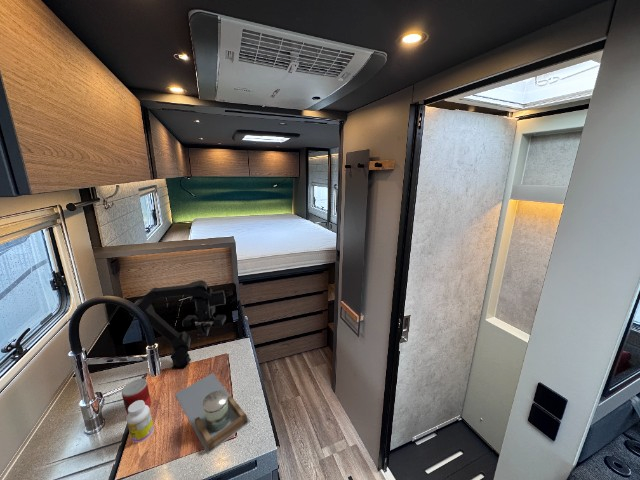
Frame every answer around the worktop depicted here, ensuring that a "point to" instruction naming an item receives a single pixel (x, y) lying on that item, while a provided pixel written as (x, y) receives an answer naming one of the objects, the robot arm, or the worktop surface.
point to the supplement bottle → (139, 421)
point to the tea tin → (216, 410)
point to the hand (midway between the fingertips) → (206, 335)
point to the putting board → (193, 405)
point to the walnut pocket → (226, 431)
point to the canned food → (136, 393)
